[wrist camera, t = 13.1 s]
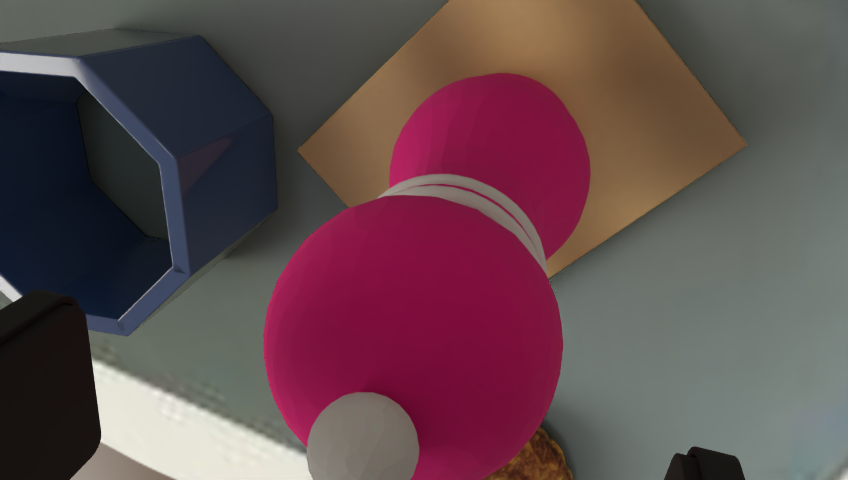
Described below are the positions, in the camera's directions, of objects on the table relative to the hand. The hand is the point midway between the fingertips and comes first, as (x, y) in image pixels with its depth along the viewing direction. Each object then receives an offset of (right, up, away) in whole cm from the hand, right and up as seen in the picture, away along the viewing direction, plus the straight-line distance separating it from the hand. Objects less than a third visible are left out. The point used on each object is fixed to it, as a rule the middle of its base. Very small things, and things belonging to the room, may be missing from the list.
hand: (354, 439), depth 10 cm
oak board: (+5, +8, +18) cm, 21 cm away
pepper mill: (+4, +7, +18) cm, 20 cm away
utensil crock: (-12, +8, +23) cm, 27 cm away
